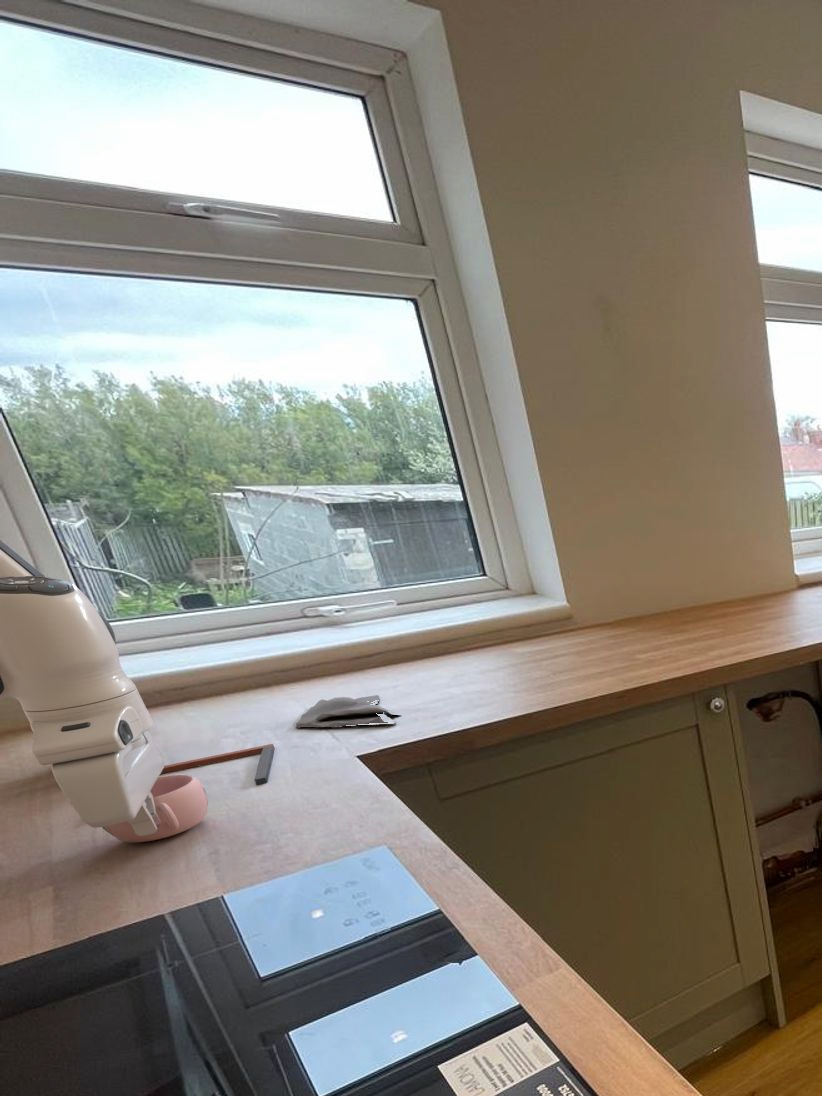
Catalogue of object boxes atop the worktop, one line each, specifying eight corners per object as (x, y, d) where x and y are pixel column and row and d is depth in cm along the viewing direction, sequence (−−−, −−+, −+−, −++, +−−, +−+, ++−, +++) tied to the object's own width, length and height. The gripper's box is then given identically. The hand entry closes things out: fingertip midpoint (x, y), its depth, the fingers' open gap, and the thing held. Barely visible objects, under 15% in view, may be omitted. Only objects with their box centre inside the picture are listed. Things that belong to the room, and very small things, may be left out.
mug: (100, 839, 102) (77, 797, 99) (202, 807, 109) (183, 767, 107) (130, 863, 96) (106, 818, 93) (236, 827, 103) (216, 785, 101)
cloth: (286, 711, 146) (281, 699, 145) (377, 691, 155) (373, 680, 154) (307, 746, 129) (302, 733, 128) (408, 722, 138) (404, 709, 137)
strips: (95, 820, 107) (92, 815, 106) (122, 779, 120) (119, 774, 119) (267, 782, 116) (265, 777, 116) (274, 748, 129) (272, 743, 129)
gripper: (78, 706, 97) (131, 808, 102) (26, 756, 82) (92, 874, 87) (149, 694, 100) (197, 794, 106) (112, 740, 85) (171, 854, 90)
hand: (150, 830), depth 96 cm, fingers closed
